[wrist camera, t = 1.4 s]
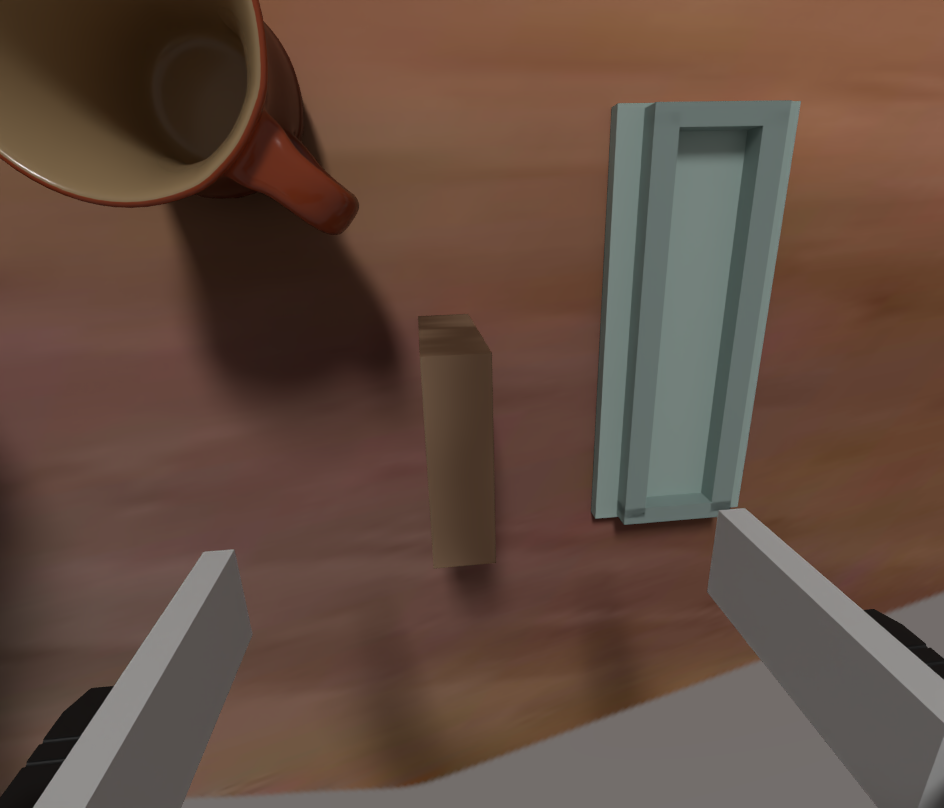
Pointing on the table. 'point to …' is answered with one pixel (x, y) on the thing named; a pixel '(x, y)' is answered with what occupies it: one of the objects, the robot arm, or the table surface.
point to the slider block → (458, 439)
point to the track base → (685, 301)
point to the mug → (158, 106)
